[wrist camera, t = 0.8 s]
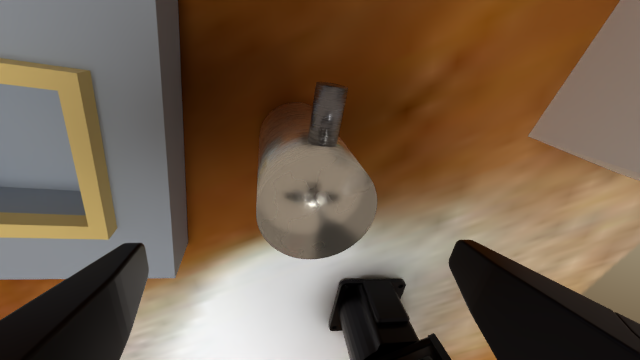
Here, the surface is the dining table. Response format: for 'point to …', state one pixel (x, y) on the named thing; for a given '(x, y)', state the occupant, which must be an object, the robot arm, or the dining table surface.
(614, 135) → the milk
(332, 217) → the spout can
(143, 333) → the dining table surface
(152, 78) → the grey flat square piece
